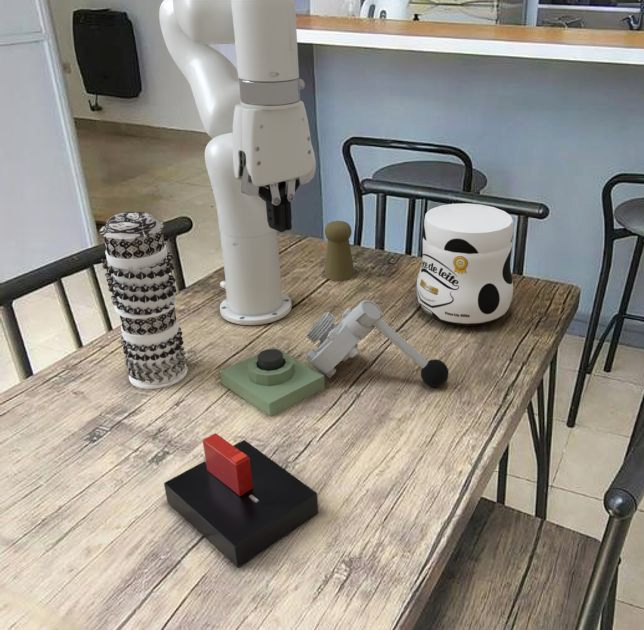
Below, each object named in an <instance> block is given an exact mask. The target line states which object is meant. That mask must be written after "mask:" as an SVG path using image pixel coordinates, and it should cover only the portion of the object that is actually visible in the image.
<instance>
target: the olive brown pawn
mask: <svg viewBox="0 0 644 630" xmlns="http://www.w3.org/2000/svg"><path fill="white" fill-rule="evenodd" d="M324 236H325V238H326V239H327V245H326V253H325V254H326V255H325V256H326V257H325V267H324V277H325V278H326V279H328V280H331V281H338V282H339V281H340V282H341V281H347V280H348V281H349V280H350V279H353V278H354V277H355V268H354V263H353V256H352V250H351V243H350V238H351V236H352V227H351V225H350V223H348V222H347V221H343V220H333V221H330V222H328V223H327V224H326V225H325V226H324Z"/></svg>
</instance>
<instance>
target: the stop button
mask: <svg viewBox="0 0 644 630" xmlns="http://www.w3.org/2000/svg"><path fill="white" fill-rule="evenodd" d="M277 349H278V348H277ZM277 349H271V348H267V349H264V350H262V351H260V352H259V353H257V354H258V365H259V368H260V369H261V370H266V371H272V370H277V369H279V368H281V367H283V365H284V362H283V353H282V352H283V351H282V350H281V349H279V350H277ZM280 350H281V351H282V352H281V351H280Z"/></svg>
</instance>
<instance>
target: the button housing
mask: <svg viewBox="0 0 644 630" xmlns="http://www.w3.org/2000/svg"><path fill="white" fill-rule="evenodd" d="M270 349H277V350H280V351H281V352H282V353H283V362H284V365H283V367H281V368H279V369H277V370H272V371H266V370H261V369H260V368H259V365H258V354H259V353H257V354H255V355H253V356H250V357H248V358H246V359H244V360H241V361H239V362H237V363H234V364H232V365H230V366H228V367H225V368H224V369H221V370H219V377H220V384H221V385H223V386H224V387H226V388H227V389H228V390H230V391H232V393H233V392H234V393H235V394H236V395H238V396H239V397H240V398H242V399H243V400H245V401H247V402H248V403H250V404H251V405H253V406H254V407H255V408H257V409H258V410H260V411H261V412H263V413H264V414H266V415H267V416H269V417H272V416H274V415H276V414H278V413H280V412H282V411H284V410H285V409H288V408H289V407H291V406H293V405H296V404H297V403H299V402H301V401H303V400H305V399H306V398H309V397H310V396H312V395H314V394H316V393H319V391H322V390H323V389H325V388H326V380H325V374H324V375H323V374H322V373H321V372H320V371H318V370H317V369H314V368H312V367H310V366H309V365H307V364H305V363H304V362H302V361H301V360H298V359H296V358H295V357H294V356H291V355H290V354H288V353H286V352H284V351H282V350H281V349H279V348H277V347H275V346H273V347H271V348H270Z"/></svg>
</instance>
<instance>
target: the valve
mask: <svg viewBox="0 0 644 630" xmlns="http://www.w3.org/2000/svg"><path fill="white" fill-rule="evenodd" d="M383 317H384V315H383V311H382V310H381V307H380V306H379V305H378V304H377V303H376V302H374V301H372V300H370V299H363V300H362V301H361V302H359V303H358V304H357V305H356V306H355V307H354V308H353V309H352V308H350V307H347V308H346V309H345V310H344V311H343V312H342V315H341V318H342V319H340V321H339V322H337V323H336V324H335V321H336V316H334V314H332V313H330V311H326V312H324V314H322V316H320V317H319V319H318V320H316V322H315V323H314V324H313V325H312V326H311V328H310V329H309V330H308V331H307V333H306V334H305V336H304V337H305V338H307V339H308V341H310V342H311V343H312V344H315V343H316V342H318V341H319V343H318V345H317V347H316V348H315V349H314V348H312V349H310V350H309V351H308V352H307V354H306V355H305V356H304V357H305V358H304V359H305V360H306V361H307V362H308V363H309V364H310V365H312V367H314V368H315V370H317V371H318V372H319V373H321V374H323V375H324V376H326V377H327V378H328V379H331V378H332V377H333V376H334V375H335V374H336V372H337V368H335V367H336V366H338V365H339V364H340V363H341V362H346V361H347V360H348V359H349V358H351V359H352V358H354V357H355V356H357V354H358V353H359V351H360V349H359V348H358V346H359V345H358V342H359V341H362V340H363V339H364V338H366V337H367V336H368V335H369V334H370V333H371V332H372V331H373V330H374V329H375V328H376V330H378V331H379V332H380V333H381V334H383V335H384V337H386V338H387V339H388V340H389V341H390V342H392V343H393V344H394V345H395V346H396V347H397V348H398V349H399V350H400V351H402V353H404V354H405V355H406V356H407V357H408V358H409V359H410V360H412V361H413V362H414V363H415V364H416V365H417V366H418V367H420V368H421V369H420V377H421V380H422V382H423V383H424V384H425V385H426V386H427V387H431V388H439V387H441V386H443V385H445V383H447V381H448V379H449V374H450V373H449V368H448V366H447V365H446V363H445V362H443V361H442V360H440V359H436V358H435V359H430V360H428V359H427V358H426V357H425V356H423V354H421V353H420V352H419V351H417V349H415V348H414V347H413V346H412V345H411V344H410V343H409V342H408V341H407V340H405V339H404V338H403V337H402V336H401V335H400V334H399V333H398V332H397V331H396V330H394V328H392V327H391V326H390V325H389V324H387V322H385V320H383V319H382V318H383Z"/></svg>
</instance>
